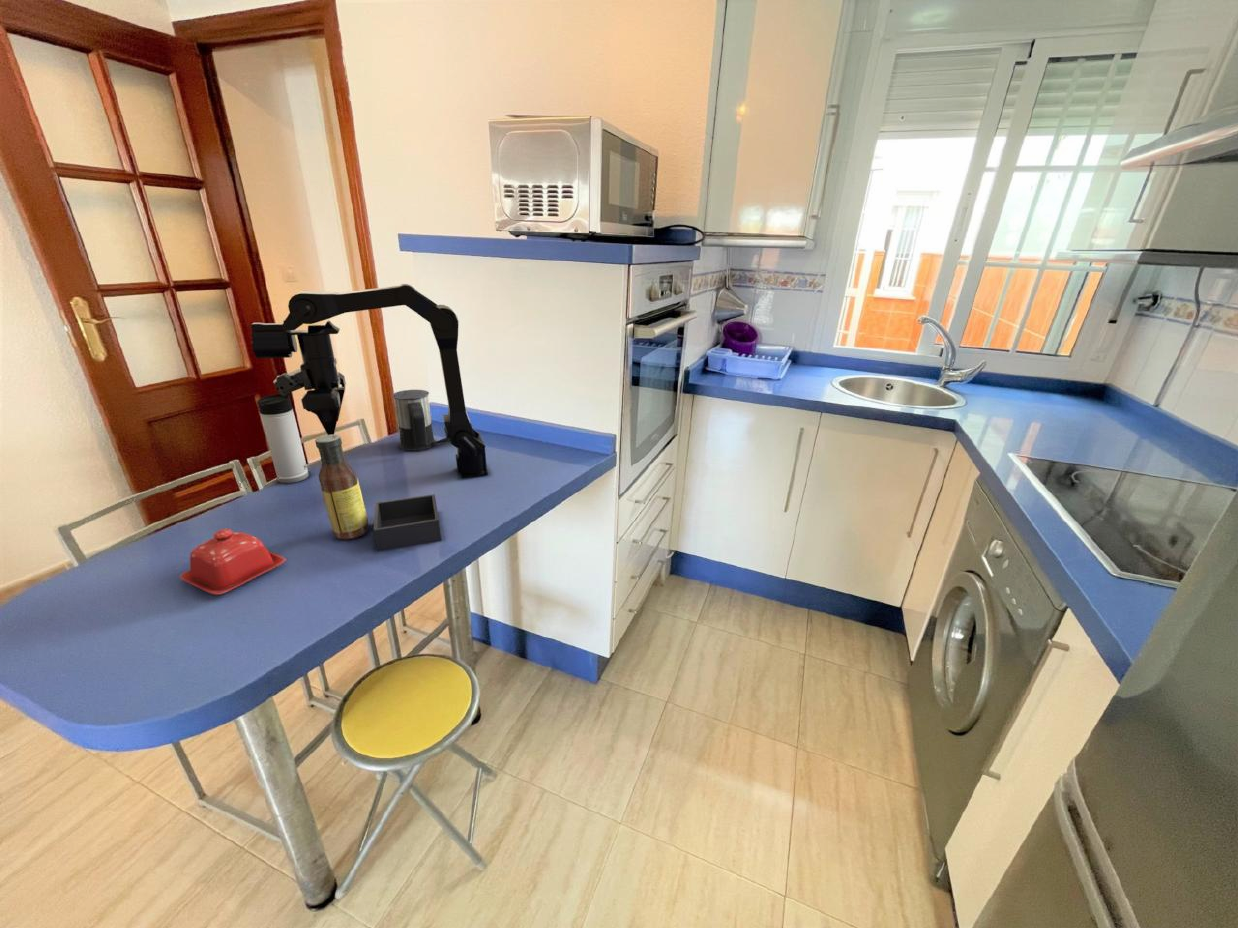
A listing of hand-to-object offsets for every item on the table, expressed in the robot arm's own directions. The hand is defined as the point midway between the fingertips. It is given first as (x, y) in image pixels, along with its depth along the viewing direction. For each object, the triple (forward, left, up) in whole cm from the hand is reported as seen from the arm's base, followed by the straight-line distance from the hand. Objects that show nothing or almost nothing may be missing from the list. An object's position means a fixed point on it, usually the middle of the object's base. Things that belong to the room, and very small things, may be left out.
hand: (333, 428), depth 109 cm
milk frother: (-20, -22, -15) cm, 33 cm away
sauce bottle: (-2, +21, -15) cm, 26 cm away
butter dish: (+15, +29, -15) cm, 36 cm away
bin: (-13, +24, -15) cm, 31 cm away
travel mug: (+12, -10, -15) cm, 21 cm away
